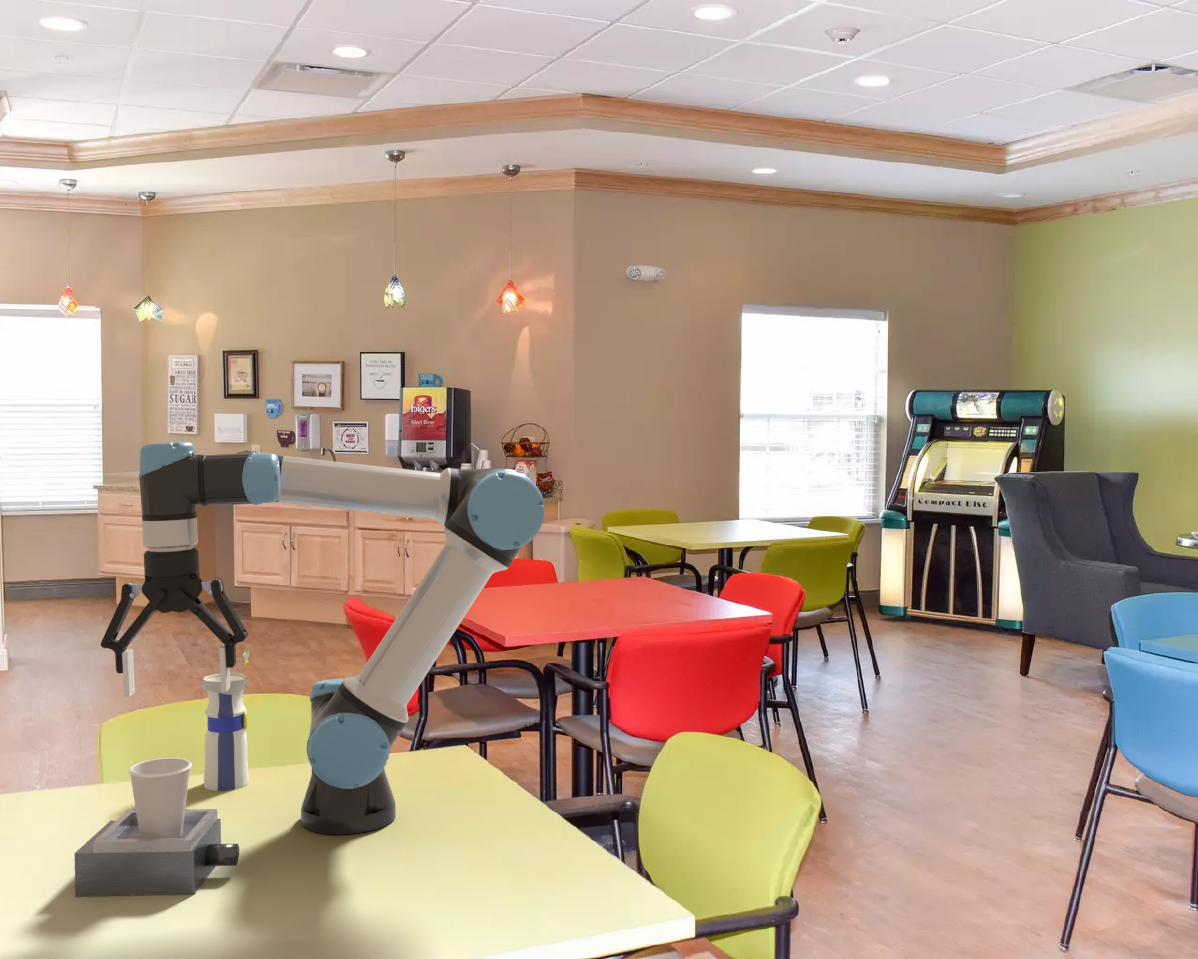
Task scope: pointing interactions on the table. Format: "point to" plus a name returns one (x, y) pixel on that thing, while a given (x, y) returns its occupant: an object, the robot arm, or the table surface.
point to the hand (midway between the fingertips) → (177, 692)
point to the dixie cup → (160, 796)
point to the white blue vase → (226, 733)
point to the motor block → (152, 858)
